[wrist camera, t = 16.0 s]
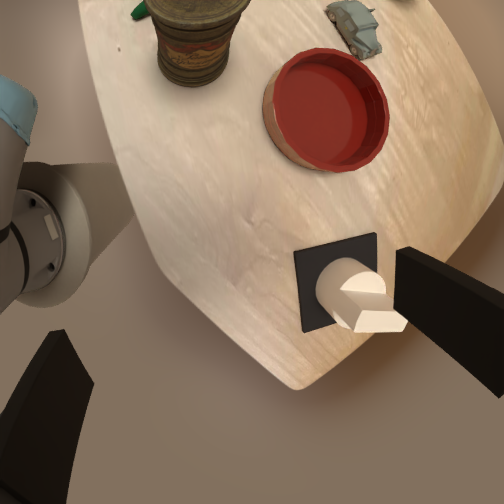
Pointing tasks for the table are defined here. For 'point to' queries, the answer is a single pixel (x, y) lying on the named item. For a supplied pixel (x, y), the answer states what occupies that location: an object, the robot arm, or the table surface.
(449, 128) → the table surface
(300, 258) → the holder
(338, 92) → the red round dish
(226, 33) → the container
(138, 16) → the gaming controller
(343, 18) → the toy car
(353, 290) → the base with upright slab
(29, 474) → the robot arm
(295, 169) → the table surface
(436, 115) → the table surface
